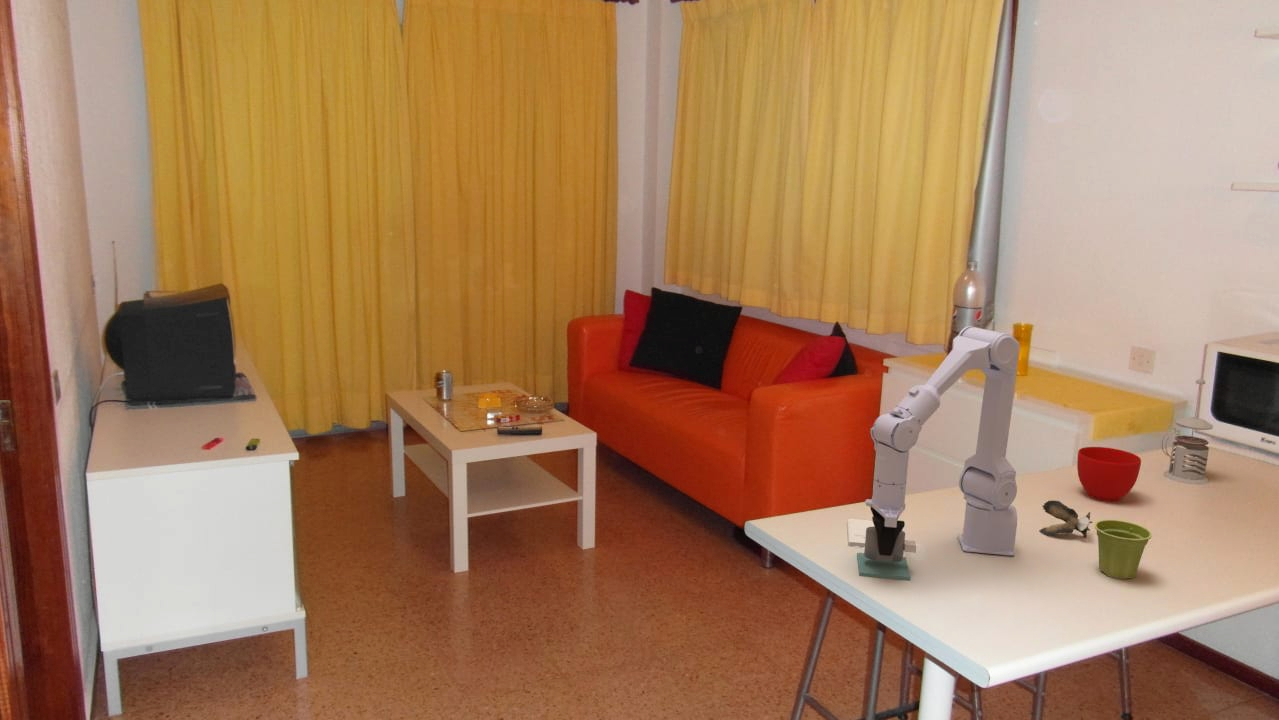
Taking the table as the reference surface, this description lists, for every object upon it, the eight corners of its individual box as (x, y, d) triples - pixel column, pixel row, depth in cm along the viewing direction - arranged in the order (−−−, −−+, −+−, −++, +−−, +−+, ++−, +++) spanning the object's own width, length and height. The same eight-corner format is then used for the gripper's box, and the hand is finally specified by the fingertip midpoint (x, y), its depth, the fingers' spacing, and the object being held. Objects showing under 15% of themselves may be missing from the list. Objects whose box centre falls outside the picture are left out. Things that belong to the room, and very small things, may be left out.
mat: (905, 560, 175) (905, 557, 175) (910, 580, 166) (910, 577, 166) (856, 555, 177) (857, 552, 176) (859, 575, 168) (859, 572, 168)
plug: (864, 559, 170) (866, 533, 169) (863, 550, 174) (865, 525, 173) (915, 564, 168) (917, 538, 167) (912, 555, 172) (915, 530, 171)
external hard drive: (887, 529, 192) (891, 552, 180) (846, 525, 193) (848, 548, 181) (887, 521, 191) (891, 545, 179) (847, 518, 193) (848, 541, 181)
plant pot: (1143, 588, 165) (1150, 543, 164) (1086, 575, 170) (1091, 531, 168) (1147, 570, 173) (1153, 526, 171) (1092, 558, 178) (1097, 515, 176)
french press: (1217, 484, 223) (1234, 384, 217) (1169, 483, 223) (1184, 382, 218) (1194, 471, 232) (1209, 374, 227) (1148, 470, 232) (1162, 373, 227)
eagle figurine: (1083, 523, 193) (1039, 510, 195) (1096, 503, 188) (1050, 490, 190) (1082, 552, 188) (1036, 539, 190) (1094, 533, 183) (1047, 519, 185)
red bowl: (1139, 489, 218) (1145, 449, 216) (1132, 511, 204) (1138, 467, 202) (1079, 478, 225) (1084, 439, 222) (1069, 498, 211) (1074, 456, 208)
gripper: (865, 465, 176) (860, 532, 178) (869, 491, 162) (864, 563, 164) (903, 468, 174) (897, 536, 177) (911, 494, 160) (905, 567, 163)
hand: (884, 549), depth 171 cm, fingers closed on plug, 4 cm apart
